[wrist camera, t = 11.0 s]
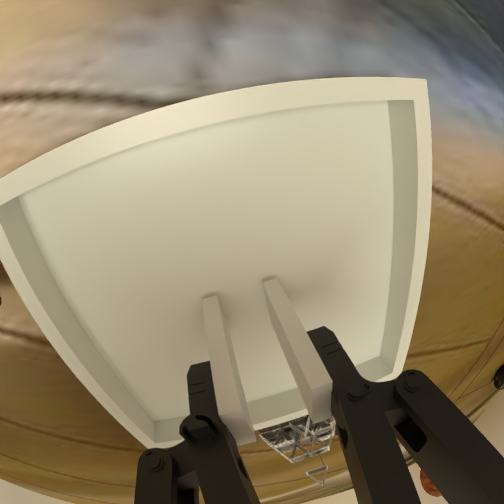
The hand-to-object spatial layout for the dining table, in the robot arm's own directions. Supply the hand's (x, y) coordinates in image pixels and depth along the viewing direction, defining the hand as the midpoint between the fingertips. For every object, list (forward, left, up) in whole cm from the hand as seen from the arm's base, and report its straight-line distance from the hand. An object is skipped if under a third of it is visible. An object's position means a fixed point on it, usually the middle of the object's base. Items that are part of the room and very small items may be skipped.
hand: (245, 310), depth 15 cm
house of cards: (+3, -14, -2) cm, 14 cm away
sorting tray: (0, 0, -1) cm, 1 cm away
